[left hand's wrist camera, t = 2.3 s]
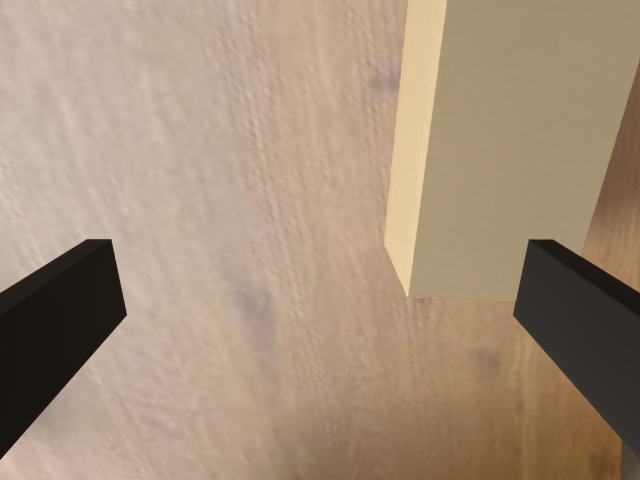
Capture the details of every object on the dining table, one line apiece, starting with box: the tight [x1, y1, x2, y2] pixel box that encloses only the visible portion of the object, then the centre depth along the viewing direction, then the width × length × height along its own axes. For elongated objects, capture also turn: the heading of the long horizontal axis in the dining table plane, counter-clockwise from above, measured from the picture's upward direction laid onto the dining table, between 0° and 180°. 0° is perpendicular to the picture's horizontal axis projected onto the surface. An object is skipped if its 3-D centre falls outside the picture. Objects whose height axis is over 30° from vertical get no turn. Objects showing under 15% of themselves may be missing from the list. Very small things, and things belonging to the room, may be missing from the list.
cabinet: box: [384, 0, 640, 301], centre depth 26 cm, size 21×10×10 cm, turn 178°
